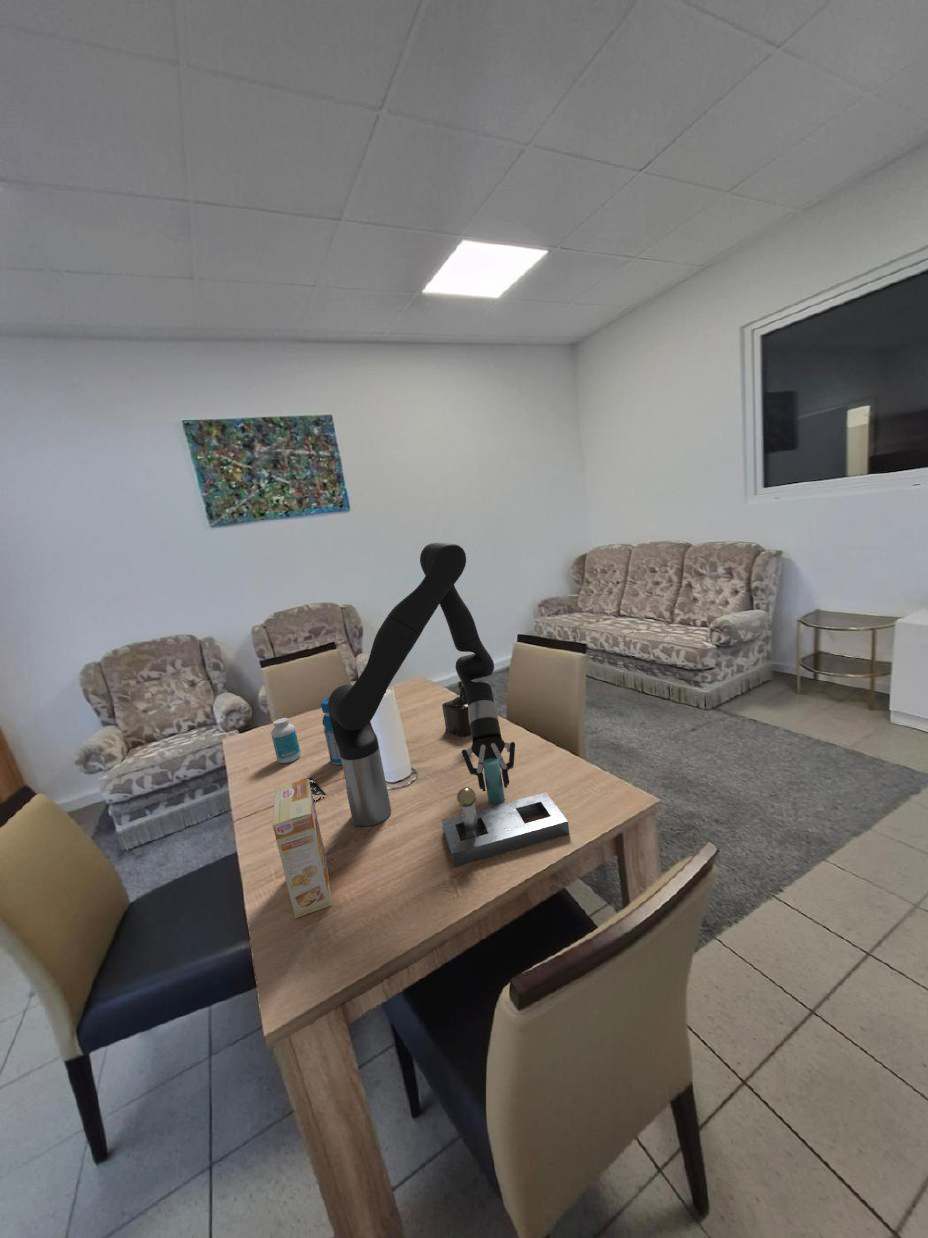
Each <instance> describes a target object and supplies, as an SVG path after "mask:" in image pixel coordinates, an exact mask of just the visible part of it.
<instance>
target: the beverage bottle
mask: <svg viewBox="0 0 928 1238" xmlns="http://www.w3.org/2000/svg"><path fill="white" fill-rule="evenodd" d="M329 698H330V697H327V698H325V699H323V700H321V702H320V707H321V710H322V713H323V714H324V715H323V717H322V723H321V724H322V726H323V727H324V728H323V734H324V736H325V737H324V738H325V741H326V745H327V751H328V754H329V759H330V763H331V764H332V765H336V766H338V765H339V766H340V765H342V761H341V756H340V752H339V749H338V746H337V744H336V741H335V738H334V734H333V729H332V725H331V721H330V716H329V711H328V701H329Z"/></svg>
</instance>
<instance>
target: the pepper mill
mask: <svg viewBox="0 0 928 1238" xmlns="http://www.w3.org/2000/svg"><path fill="white" fill-rule="evenodd" d="M457 684H458V688H457V689H459V696H457V697H455V698H453V699H452V700H449V701H447V702H444V703H442V706H441V707H442V712H443V713H442V714H443V719H444V720H443V721H444V727H445V730H446V731H447V732H449V733H451V734H452V735H453V734H454V735H456V736H460V737H467V736H471V730H470V724H469V716H468V703H467V697H466V692H465V689H464V686H463V684H462V682H461V680H460V681H458V683H457Z"/></svg>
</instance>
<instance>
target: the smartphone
mask: <svg viewBox="0 0 928 1238" xmlns="http://www.w3.org/2000/svg"><path fill="white" fill-rule="evenodd" d="M307 779H309V780H314V779H313V778H312V777H309V778H307ZM310 787H311V788H312V789H311V792H312V795H327V794H326V792H324V791H323V789H322V788H321V787H320V786H319V785H318V783H317V782H316V783H314V782H313V783H312V782H310ZM314 788H316V789H315V790H316V791H315V790H314ZM323 798H324V797H323ZM320 799H321V797H320V798H319V799H318V800H320ZM318 800H316V801H318ZM313 801H314V802H315V800H314V798H313ZM320 801H321V800H320ZM318 802H319V801H318Z"/></svg>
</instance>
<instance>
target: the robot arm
mask: <svg viewBox="0 0 928 1238" xmlns="http://www.w3.org/2000/svg"><path fill="white" fill-rule="evenodd" d="M419 563H420V566H421V570H422V571H423V574H424V578H423V579H422V581H421V582H420V584H419V585H418V586H417V587H416V588H415V589H414V590H413V591H411V592H410V593H409V594H408V595H407V596H406V597H405V598H403V599H402V600H401V601H399V603H397V604H396V605H394V607H393V608H392V609H391V611H390V612H389V614H388V615H387V616H386V617H385V619H384V621H383V622H382V624H381V625H380V627H379V629H378V631H377V633H376V634H375V637H374V638H373V639H374V640H373V643H372V646H371V649H370V653H369V655H368V659H367V663H366V665H365V666H364V668H363V671H362V672H361V674H360V675H359V677H358V678H357V679H356V680H355V682H354V684H350V683H349V684H342V685H339V686H337V687H336V688H335V689H334V690H333V691H332V693H331V694H330V696H329V697H328V698H329V701H328V711H329V716H330V721H331V725H332V729H333V734H334V738H335V741H336V744H337V746H338V749H339V752H340V756H341V761H342V764H341V765H342V770H343V774H344V779H345V783H346V795H347V801H348V806H349V809H350V811H349V812H350V815H351V819H352V824H353V827H357V826H358V827H359V826H360V827H369V826H370V827H371V826H374V825H377V824H380V823H382V822H384V821H385V820H387V819H388V818H389V817H390V815H391V813H392V808H391V801H390V798H389V792H388V787H387V781H386V776H385V771H384V765H383V761H382V756H381V750H380V746H379V741H378V737H377V735H376V732H375V731H374V728H373V725H372V724H371V722H372V720H373V717H374V716H375V715H376V713H377V710H378V708H379V707H380V704H381V702H382V699H383V698H384V696H385V694H386V692H387V690H388V688H389V686H390V685H391V682H392V680H393V679H394V677H395V676H396V675H397V673H398V671H399V670H400V668H401V667H402V664H404V662H405V660H406V658H407V657H408V655H409V654H410V652H411V651H412V649H413V648H414V646H415V645H416V643H417V642H418V640H419V638H420V636H421V634H422V633H423V631H424V629H425V628H426V626H427V625H428V623H429V621H430V620H431V618H432V617H433V615H434V614H435V611H436V610H437V609H438V607H439V606H440V608H441V610H442V613H443V614H444V617H445V621H446V623H447V625H448V629H449V633H450V635H451V639H452V641H453V645H454V647H455V649H456V650H457V651H458V652H465V653H467V652H469V653H472V654H467V655H463V656H460V657H458V658H457V660H456V663H455V671H456V674H457V676H458V678H459V680H460V681H461V682H462V686H464V689H465V692H466V697H467V703H468V716H469V724H470V730H471V735H470V736H471V737H470V738H471V743H472V744H471V746H470V747H469V748H468V749H462V750H461V756H462V757H463V760H464V763H465V764H466V765H465V766H466V768H467V770H468V772H469V774H470V775H474V776H477V782H478V787H479V789H480V790H482V792H487V789H486V782H485V776H484V768H483V761H484V760H486V759H489V758H496V759H498V760H499V763H500V770H501V777H502V784H503V789H507V788H508V786H509V785H510V778H509V772H508V771H509V770H513V768H514V765H515V753H516V743H515V742H514V741H511V742H505V741H504V739H503V738H502V737H503V736H502V734H501V733H502V732H501V727H500V723H499V716H498V713H497V709H496V705H495V701H494V696H493V690H492V686H491V684H489V682H484V681H482V682H481V681H473V680H478V679H479V680H480V679H482V678H487V677H490V676H491V675H493V673H494V670H495V663H494V660H493V657H491V655H490V653H489V652H488V650H487V648H485V646H484V644H483V643H482V641H481V638H480V635H479V632H478V630H477V626H476V622H475V620H474V618H473V615H472V614H471V613H472V612H471V611H470V609H469V608H468V606H467V605H466V603H465V602H464V600H463V599H462V597H461V596H460V594H459V591H457V588H456V586H455V584H456V583H457V581H458V580H459V578H460V577H461V576H462V574H463V572H464V571H465V568H466V564H467V554H466V552H465V549H464V548H463V547H461V546H460V545H459V544H456V543H451V542H450V543H449V542H433V543H429V544H427V545H426V546H424V547H423V549H421V552H420V557H419ZM504 748H506V749H505V750H506V751H507V752H508V753H509V758H508V762H507V763H506V762H505V760H504V758H503V756H502V753H503V750H504ZM472 753H473V755H474V756H476V757H477V758H478V761H477V767H474V765H473V763H472V761H471V758H472Z"/></svg>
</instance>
